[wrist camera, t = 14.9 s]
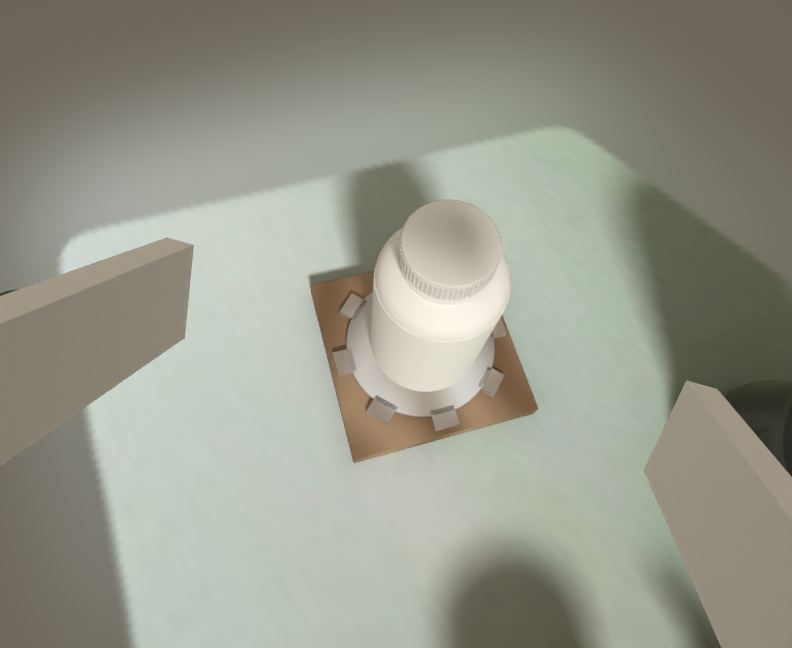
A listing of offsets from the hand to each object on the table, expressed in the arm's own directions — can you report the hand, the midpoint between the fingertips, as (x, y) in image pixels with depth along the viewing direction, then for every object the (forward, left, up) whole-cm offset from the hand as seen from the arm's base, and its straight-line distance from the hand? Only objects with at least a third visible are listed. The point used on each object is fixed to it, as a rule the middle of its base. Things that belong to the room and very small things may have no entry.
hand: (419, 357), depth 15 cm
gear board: (-6, -9, -27) cm, 29 cm away
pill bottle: (-6, -9, -26) cm, 28 cm away
